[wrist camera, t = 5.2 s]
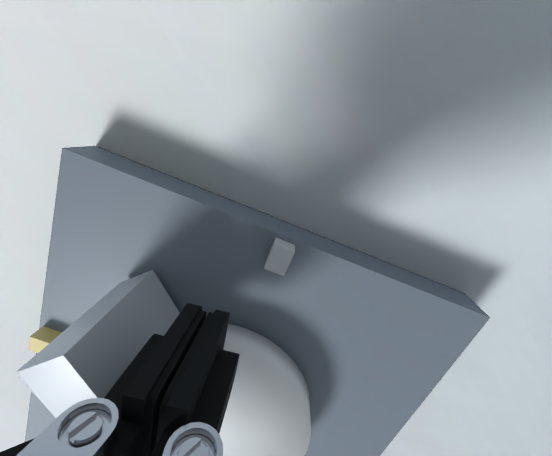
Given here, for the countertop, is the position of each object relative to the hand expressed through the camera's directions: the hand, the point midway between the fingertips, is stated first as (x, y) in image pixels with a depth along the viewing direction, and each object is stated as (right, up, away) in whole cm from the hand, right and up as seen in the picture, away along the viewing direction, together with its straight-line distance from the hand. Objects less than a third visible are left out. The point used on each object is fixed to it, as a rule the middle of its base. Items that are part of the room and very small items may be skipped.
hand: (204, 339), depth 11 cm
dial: (-1, -4, +4) cm, 6 cm away
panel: (0, -4, +7) cm, 8 cm away
